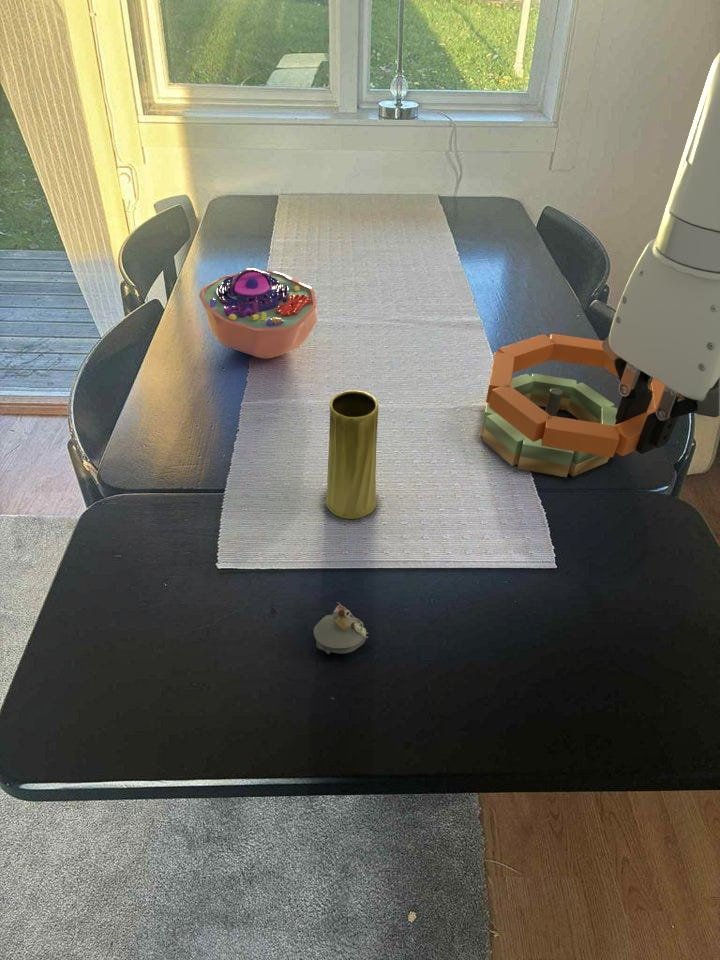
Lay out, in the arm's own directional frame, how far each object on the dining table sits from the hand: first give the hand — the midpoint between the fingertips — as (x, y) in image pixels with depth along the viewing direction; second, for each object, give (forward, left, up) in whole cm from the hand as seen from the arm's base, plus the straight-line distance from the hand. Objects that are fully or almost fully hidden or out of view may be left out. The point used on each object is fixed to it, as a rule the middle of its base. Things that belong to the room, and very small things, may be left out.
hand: (637, 438), depth 63 cm
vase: (+23, +16, -19) cm, 34 cm away
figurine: (+6, +27, -19) cm, 34 cm away
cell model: (+61, +10, -19) cm, 65 cm away
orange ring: (+7, 0, 0) cm, 8 cm away
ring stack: (+22, -14, -19) cm, 32 cm away
